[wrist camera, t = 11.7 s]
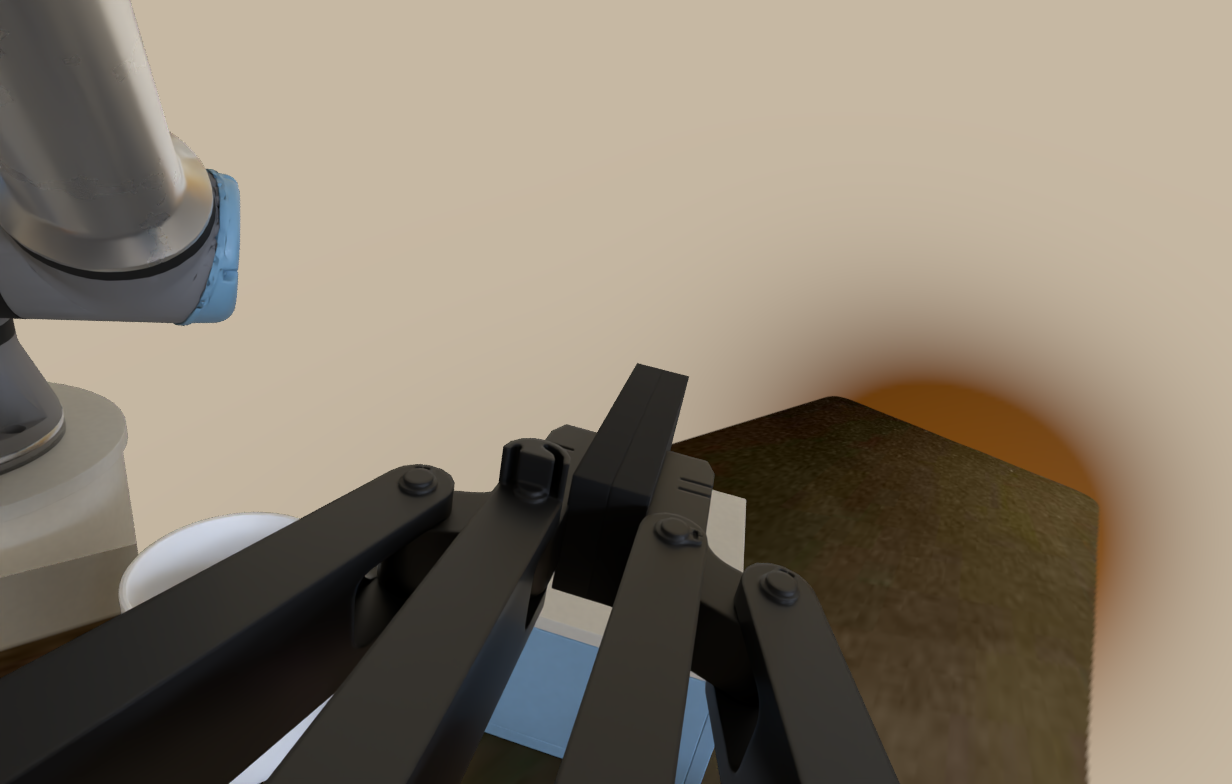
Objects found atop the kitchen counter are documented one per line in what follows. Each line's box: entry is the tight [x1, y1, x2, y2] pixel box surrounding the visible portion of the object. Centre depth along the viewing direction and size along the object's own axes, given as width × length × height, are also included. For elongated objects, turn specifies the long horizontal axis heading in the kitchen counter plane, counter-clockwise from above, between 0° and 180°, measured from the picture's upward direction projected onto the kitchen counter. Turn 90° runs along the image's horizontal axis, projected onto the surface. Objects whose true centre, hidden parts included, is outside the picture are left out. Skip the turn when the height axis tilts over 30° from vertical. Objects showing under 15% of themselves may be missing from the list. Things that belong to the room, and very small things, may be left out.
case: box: [484, 627, 715, 784], centre depth 39 cm, size 16×13×8 cm
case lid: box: [534, 490, 746, 681], centre depth 37 cm, size 16×13×1 cm
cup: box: [118, 512, 333, 784], centre depth 29 cm, size 8×12×10 cm
